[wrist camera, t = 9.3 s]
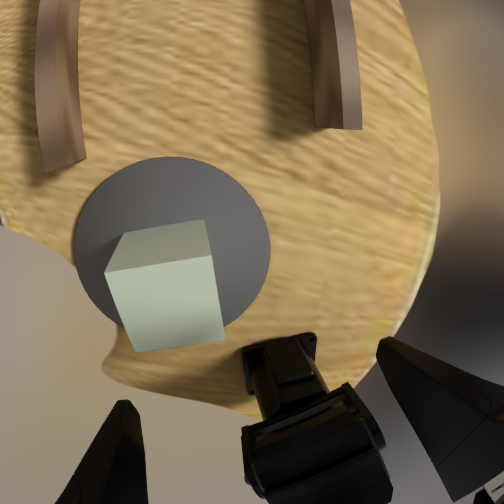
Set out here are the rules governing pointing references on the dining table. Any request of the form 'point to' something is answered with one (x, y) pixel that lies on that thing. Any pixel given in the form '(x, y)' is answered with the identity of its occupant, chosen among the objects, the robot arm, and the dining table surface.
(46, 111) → the bay
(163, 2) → the dining table surface
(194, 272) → the block
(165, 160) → the coaster
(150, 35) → the dining table surface
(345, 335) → the dining table surface
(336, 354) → the dining table surface
